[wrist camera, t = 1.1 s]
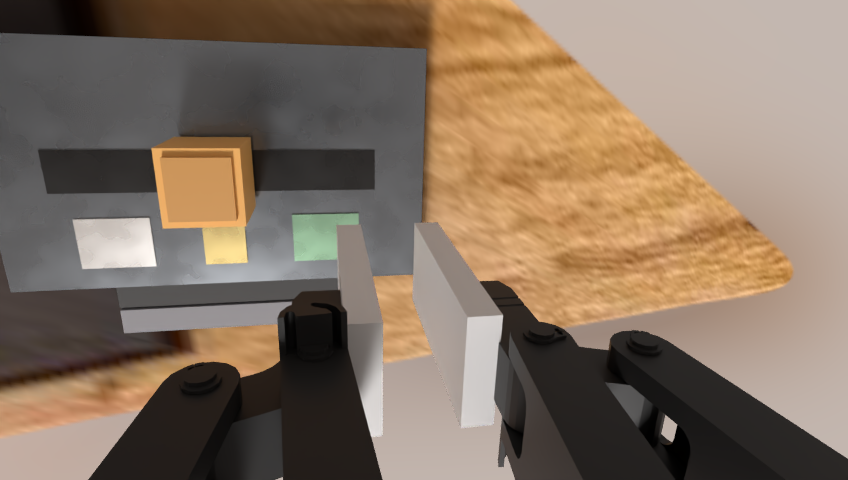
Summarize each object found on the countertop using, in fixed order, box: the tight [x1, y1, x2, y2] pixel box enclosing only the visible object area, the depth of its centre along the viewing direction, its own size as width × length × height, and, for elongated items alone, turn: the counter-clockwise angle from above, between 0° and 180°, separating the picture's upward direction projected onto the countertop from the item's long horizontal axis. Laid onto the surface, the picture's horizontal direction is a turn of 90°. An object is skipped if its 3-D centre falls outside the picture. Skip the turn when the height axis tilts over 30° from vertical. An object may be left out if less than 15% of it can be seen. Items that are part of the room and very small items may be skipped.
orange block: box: [151, 137, 256, 229], centre depth 27 cm, size 4×4×4 cm
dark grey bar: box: [116, 278, 338, 308], centre depth 34 cm, size 14×2×2 cm, turn 88°
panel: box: [0, 33, 427, 292], centre depth 31 cm, size 24×14×3 cm, turn 88°
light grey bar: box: [121, 299, 293, 333], centre depth 35 cm, size 14×2×2 cm, turn 88°
